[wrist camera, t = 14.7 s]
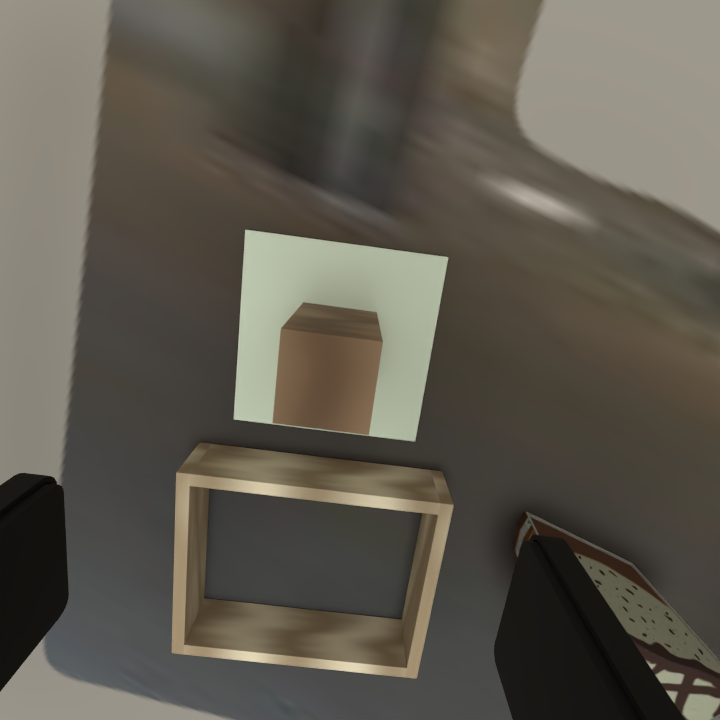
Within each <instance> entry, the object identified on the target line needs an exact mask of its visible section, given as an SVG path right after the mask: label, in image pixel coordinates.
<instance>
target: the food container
mask: <svg viewBox="0 0 720 720" xmlns="http://www.w3.org/2000/svg"><path fill="white" fill-rule="evenodd" d="M533 535H544V536H552V537H560V538H563V539H564V540H565V541H566V542H567V543H568V545H569V546H570V548H571V549H572V551H573V552H574V554H575V555H576V557H577V558H578V560H579V561H580V563H581V564H582V566H583V567H584V569H585V570H586V572H587V573H588V575H589V576H590V578H591V579H592V581H593V582H594V584H595V585H596V587H597V588H598V590H599V591H600V593H601V594H602V596H603V597H604V599H605V600H606V602H607V603H608V605H609V606H610V608H611V609H612V611H613V612H614V614H615V615H616V617H617V618H618V620H619V621H620V623H621V624H622V626H623V627H624V629H625V630H626V632H627V633H628V635H629V636H630V638H631V639H632V641H633V642H634V644H635V645H636V647H637V648H638V650H639V651H640V653H641V654H642V656H643V657H644V659H645V660H646V662H647V663H648V665H649V666H650V668H651V669H652V671H653V672H654V674H655V675H656V677H657V678H658V680H659V681H660V683H661V684H662V686H663V687H664V689H665V690H666V692H667V693H668V695H669V696H670V698H671V699H672V701H673V702H674V704H675V705H676V707H677V708H678V710H679V711H680V713H681V714H682V716H683V717H684V719H685V720H720V660H719V659H718V658H717V657H716V656H715V654H714V653H713V652H712V651H711V650H710V649H709V648H708V647H707V646H706V644H705V643H704V642H703V641H702V640H701V639H700V638H699V637H698V636H697V634H696V633H695V632H694V631H693V630H692V629H691V628H690V627H689V626H688V624H687V623H686V622H685V621H684V620H683V619H682V618H681V617H680V616H679V614H678V613H677V612H676V611H675V610H674V609H673V608H672V607H671V605H670V604H669V603H668V602H667V601H666V600H665V599H664V598H663V597H662V595H661V594H660V593H659V592H658V591H657V590H656V589H655V588H654V587H653V585H652V584H651V583H650V582H649V581H648V580H647V579H646V578H645V577H644V575H643V574H642V573H641V572H640V571H639V570H638V569H637V568H636V567H635V565H634V564H633V563H631V562H629V561H627V560H625V559H623V558H621V557H619V556H617V555H615V554H613V553H611V552H609V551H607V550H605V549H603V548H601V547H599V546H596V545H594V544H592V543H590V542H588V541H586V540H584V539H582V538H580V537H578V536H576V535H574V534H572V533H570V532H568V531H566V530H564V529H562V528H559V527H557V526H555V525H553V524H551V523H549V522H547V521H545V520H543V519H541V518H539V517H537V516H535V515H533V514H531V513H529V512H527V511H525V512H524V514H523V515H522V517H521V519H520V520H519V522H518V524H517V528H516V532H515V536H514V540H513V547H514V556H515V561H516V562H517V558H518V554H519V551H520V547H521V544H522V543H523V541H529V540H530V538H531V537H532V536H533Z"/></svg>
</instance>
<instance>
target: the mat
mask: <svg viewBox="0 0 720 720" xmlns="http://www.w3.org/2000/svg"><path fill="white" fill-rule="evenodd" d="M447 262H448V257H443V256H436V255H428V254H421V253H414V252H406V251H399V250H392V249H384V248H377V247H370V246H362V245H355V244H348V243H340V242H333V241H326V240H318V239H311V238H304V237H296V236H289V235H282V234H274V233H267V232H260V231H252V230H245V244H244V261H243V277H242V293H241V309H240V326H239V342H238V358H237V374H236V391H235V407H234V419H235V420H243V421H251V422H259V423H267V424H274V423H272V422H273V411H274V400H275V388H276V377H277V366H278V355H279V343H280V332H281V328H282V327H283V325H284V324H285V323H286V322H287V321H288V320H289V318H290V317H291V316H292V315H293V314H294V313H295V311H296V310H297V309H298V308H299V307H300V306H301V304H302V303H303V302H305V303H313V304H320V305H328V306H335V307H343V308H350V309H358V310H365V311H373V312H377V316H378V321H379V325H380V330H381V335H382V340H383V345H382V352H381V358H380V365H379V371H378V378H377V385H376V391H375V398H374V404H373V411H372V418H371V424H370V431H369V435H366V436H374V437H382V438H390V439H399V440H407V441H415V439H416V434H417V428H418V423H419V417H420V412H421V406H422V401H423V395H424V390H425V384H426V378H427V373H428V367H429V362H430V356H431V351H432V345H433V340H434V334H435V328H436V323H437V317H438V312H439V306H440V301H441V295H442V290H443V284H444V278H445V273H446V267H447ZM276 425H283V424H276ZM284 426H291V425H284ZM292 427H299V426H292ZM300 428H307V427H300ZM308 429H315V428H308ZM317 430H323V429H317ZM325 431H331V430H325ZM333 432H339V431H333ZM341 433H347V432H341ZM349 434H355V433H349ZM358 435H363V434H358Z"/></svg>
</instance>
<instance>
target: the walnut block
mask: <svg viewBox="0 0 720 720" xmlns="http://www.w3.org/2000/svg"><path fill="white" fill-rule="evenodd" d="M382 345H383V340H382V335H381V330H380V325H379V321H378V316H377V312H373V311H365V310H358V309H350V308H343V307H335V306H328V305H320V304H313V303H305V302H303V303H302V304H301V306H300V307H299V308H298V309H297V310H296V311H295V313H294V314H293V315H292V316H291V317H290V318H289V320H288V321H287V322H286V323H285V324H284V325H283V327H282V328H281V332H280V343H279V355H278V366H277V377H276V388H275V400H274V411H273V422H272V423H274V424H283V425H291V426H299V427H307V428H315V429H323V430H331V431H339V432H347V433H355V434H363V435H369V431H370V424H371V418H372V411H373V404H374V398H375V391H376V385H377V378H378V371H379V365H380V358H381V352H382Z"/></svg>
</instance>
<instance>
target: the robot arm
mask: <svg viewBox="0 0 720 720" xmlns="http://www.w3.org/2000/svg"><path fill="white" fill-rule="evenodd" d="M68 594H69V593H68V572H67V551H66V530H65V509H64V492H63V488H62V486H60V485H57V482H56V480H55V479H54V478H53V477H51V476H44V475H36V474H27V473H19V474H17V475H15V476H13V477H12V478H10V479H9V480H8V481H6V482H5V483H3V484H2V485H0V691H1V690H2V689H3V687H4V686H5V685H6V684H7V682H8V681H9V680H10V679H11V677H12V676H13V675H14V674H15V672H16V671H17V670H18V669H19V667H20V666H21V665H22V664H23V662H24V661H25V660H26V659H27V657H28V656H29V655H30V654H31V652H32V651H33V650H34V649H35V647H36V646H37V645H38V644H39V642H40V641H41V640H42V639H43V637H44V636H45V635H46V634H47V632H48V631H49V630H50V629H51V627H52V626H53V625H54V624H55V622H56V621H57V620H58V619H59V617H60V616H61V614H62V613H63V611H64V609H65V607H66V604H67V601H68ZM494 656H495V663H496V666H497V670H498V673H499V676H500V679H501V683H502V686H503V689H504V692H505V696H506V699H507V702H508V705H509V708H510V712H511V715H512V718H513V720H685V719H684V717H683V716H682V714H681V713H680V711H679V710H678V708H677V707H676V705H675V704H674V702H673V701H672V699H671V698H670V696H669V695H668V693H667V692H666V690H665V689H664V687H663V686H662V684H661V683H660V681H659V680H658V678H657V677H656V675H655V674H654V672H653V671H652V669H651V668H650V666H649V665H648V663H647V662H646V660H645V659H644V657H643V656H642V654H641V653H640V651H639V650H638V648H637V647H636V645H635V644H634V642H633V641H632V639H631V638H630V636H629V635H628V633H627V632H626V630H625V629H624V627H623V626H622V624H621V623H620V621H619V620H618V618H617V617H616V615H615V614H614V612H613V611H612V609H611V608H610V606H609V605H608V603H607V602H606V600H605V599H604V597H603V596H602V594H601V593H600V591H599V590H598V588H597V587H596V585H595V584H594V582H593V581H592V579H591V578H590V576H589V575H588V573H587V572H586V570H585V569H584V567H583V566H582V564H581V563H580V561H579V560H578V558H577V557H576V555H575V554H574V552H573V551H572V549H571V548H570V546H569V545H568V543H567V542H566V541H565V540H564V539H563V538H560V537H552V536H544V535H533V536H532V537H531V538H530V540H529V541H523V543H522V544H521V547H520V551H519V554H518V558H517V562H516V566H515V569H514V573H513V577H512V581H511V584H510V588H509V592H508V596H507V599H506V603H505V607H504V611H503V614H502V618H501V622H500V626H499V630H498V633H497V637H496V641H495V646H494Z"/></svg>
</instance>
